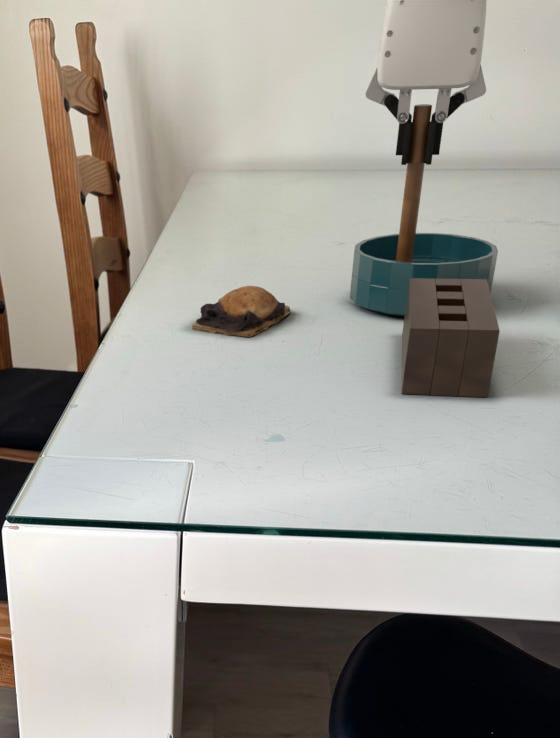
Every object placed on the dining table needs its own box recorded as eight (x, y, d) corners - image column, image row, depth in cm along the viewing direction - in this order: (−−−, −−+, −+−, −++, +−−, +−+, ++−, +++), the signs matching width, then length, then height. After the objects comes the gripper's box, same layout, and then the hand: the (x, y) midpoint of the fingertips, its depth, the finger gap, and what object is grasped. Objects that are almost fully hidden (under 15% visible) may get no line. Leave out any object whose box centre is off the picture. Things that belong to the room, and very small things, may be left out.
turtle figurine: (232, 305, 118) (233, 273, 116) (297, 314, 114) (299, 280, 112) (184, 329, 111) (184, 295, 109) (252, 339, 107) (253, 303, 105)
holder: (476, 339, 103) (486, 279, 100) (487, 397, 89) (499, 330, 86) (401, 337, 105) (409, 277, 101) (401, 394, 91) (410, 328, 88)
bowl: (483, 286, 119) (492, 233, 116) (492, 323, 107) (502, 265, 104) (352, 284, 123) (357, 232, 120) (346, 319, 111) (351, 263, 107)
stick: (409, 278, 116) (432, 103, 106) (409, 282, 115) (432, 105, 105) (393, 278, 116) (414, 104, 107) (393, 282, 115) (414, 106, 105)
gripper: (523, -47, 100) (491, 156, 110) (360, -37, 103) (343, 158, 114) (531, -47, 94) (495, 167, 104) (357, -37, 97) (339, 169, 108)
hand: (416, 161), depth 109 cm, fingers closed on stick, 1 cm apart
